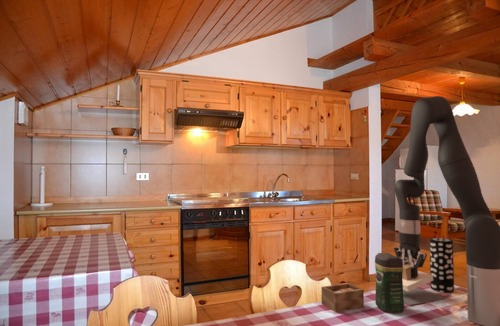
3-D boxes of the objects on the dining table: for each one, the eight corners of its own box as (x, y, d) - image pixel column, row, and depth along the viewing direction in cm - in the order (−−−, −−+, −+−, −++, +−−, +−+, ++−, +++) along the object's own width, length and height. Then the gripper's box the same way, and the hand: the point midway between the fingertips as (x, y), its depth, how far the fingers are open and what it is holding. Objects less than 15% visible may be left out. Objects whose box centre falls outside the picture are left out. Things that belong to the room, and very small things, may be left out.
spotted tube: (454, 294, 131) (452, 242, 132) (429, 290, 135) (428, 240, 136) (454, 288, 138) (453, 239, 139) (431, 285, 142) (430, 237, 143)
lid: (412, 273, 136) (410, 258, 136) (433, 280, 128) (430, 263, 127) (388, 284, 131) (385, 267, 131) (408, 291, 122) (405, 274, 122)
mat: (412, 287, 139) (412, 286, 139) (445, 298, 126) (445, 297, 126) (378, 292, 132) (378, 291, 133) (410, 305, 119) (410, 304, 119)
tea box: (348, 299, 125) (348, 282, 125) (363, 306, 118) (363, 289, 118) (321, 303, 120) (321, 286, 121) (335, 312, 113) (335, 293, 113)
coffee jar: (408, 313, 112) (407, 257, 113) (385, 314, 111) (384, 257, 112) (393, 303, 121) (392, 250, 122) (372, 303, 121) (371, 251, 122)
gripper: (388, 229, 135) (388, 272, 134) (418, 234, 122) (418, 283, 121) (401, 228, 138) (402, 271, 137) (432, 233, 125) (433, 280, 124)
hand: (409, 276), depth 129 cm, fingers closed on lid, 3 cm apart
